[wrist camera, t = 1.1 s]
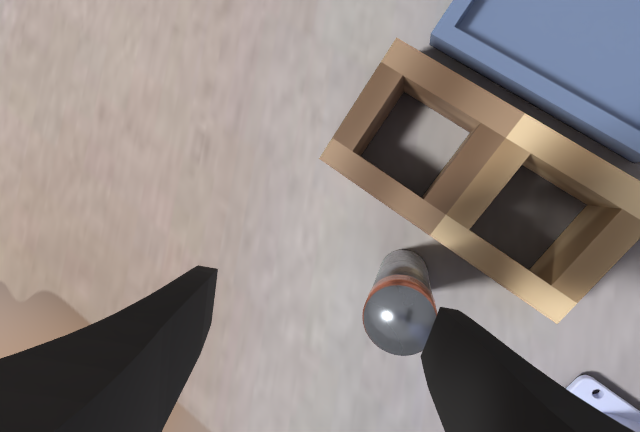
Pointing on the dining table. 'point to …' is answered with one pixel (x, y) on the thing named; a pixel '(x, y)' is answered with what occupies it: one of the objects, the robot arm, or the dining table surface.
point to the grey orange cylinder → (400, 305)
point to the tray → (557, 59)
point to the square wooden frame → (443, 97)
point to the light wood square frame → (575, 241)
